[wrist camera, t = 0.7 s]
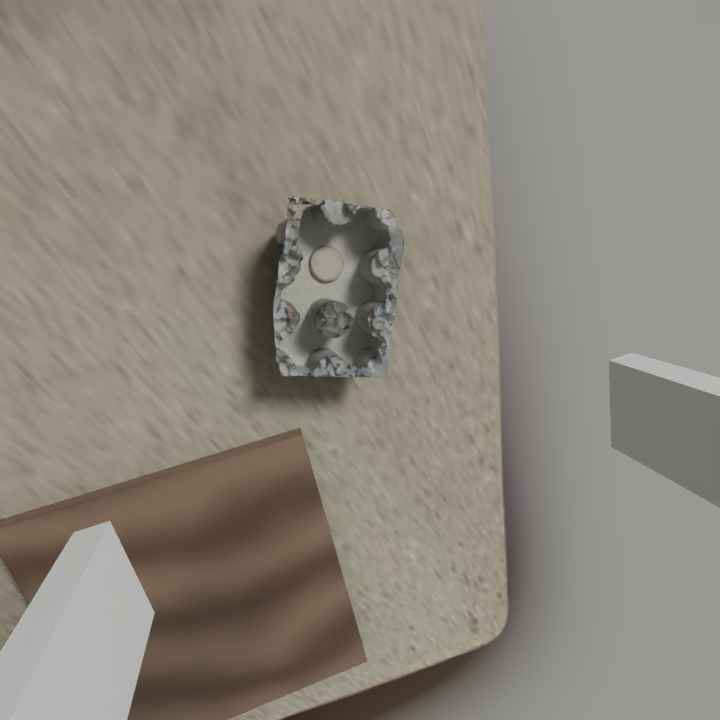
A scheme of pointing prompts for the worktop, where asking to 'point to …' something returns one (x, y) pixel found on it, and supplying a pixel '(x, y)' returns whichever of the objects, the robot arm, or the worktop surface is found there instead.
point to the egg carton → (336, 289)
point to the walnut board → (215, 577)
